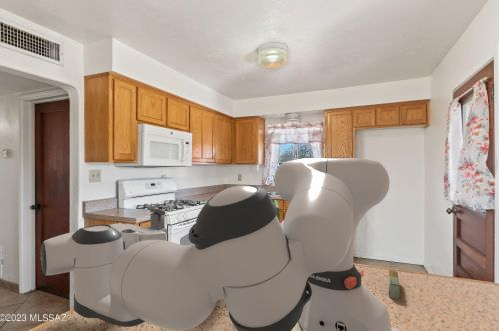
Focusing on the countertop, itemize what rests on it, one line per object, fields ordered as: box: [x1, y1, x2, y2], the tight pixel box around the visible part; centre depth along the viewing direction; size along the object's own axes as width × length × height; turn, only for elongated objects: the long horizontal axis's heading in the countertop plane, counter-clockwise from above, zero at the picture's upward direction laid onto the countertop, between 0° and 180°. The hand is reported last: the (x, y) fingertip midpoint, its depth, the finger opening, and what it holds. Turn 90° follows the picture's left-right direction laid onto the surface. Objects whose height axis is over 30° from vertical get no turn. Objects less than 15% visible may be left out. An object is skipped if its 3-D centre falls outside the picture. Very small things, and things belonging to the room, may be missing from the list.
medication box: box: [387, 269, 401, 300], centre depth 80 cm, size 12×3×4 cm, turn 154°
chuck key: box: [149, 207, 166, 230], centre depth 81 cm, size 8×4×13 cm, turn 44°
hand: (160, 229), depth 81 cm, fingers closed on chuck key, 4 cm apart
